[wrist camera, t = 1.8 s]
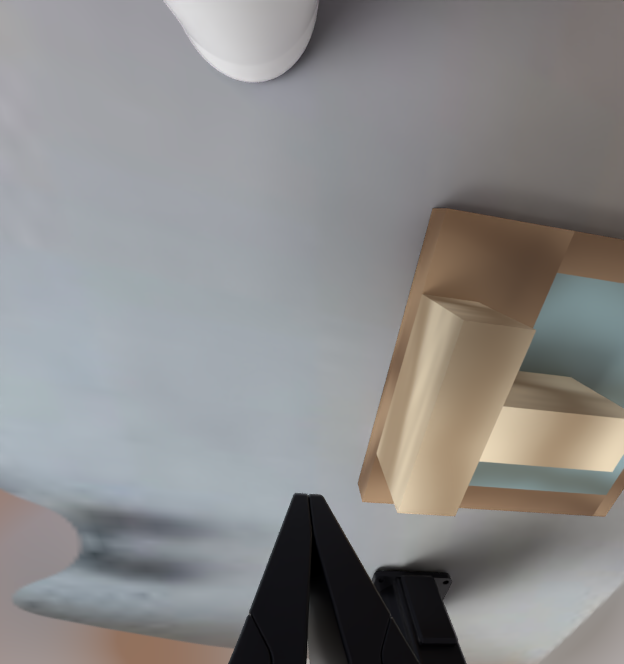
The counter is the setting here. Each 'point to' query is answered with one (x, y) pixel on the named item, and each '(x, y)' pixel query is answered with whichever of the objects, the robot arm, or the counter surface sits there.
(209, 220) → the counter surface
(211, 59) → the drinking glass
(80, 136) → the counter surface
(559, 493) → the push board
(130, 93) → the counter surface
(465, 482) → the t block
